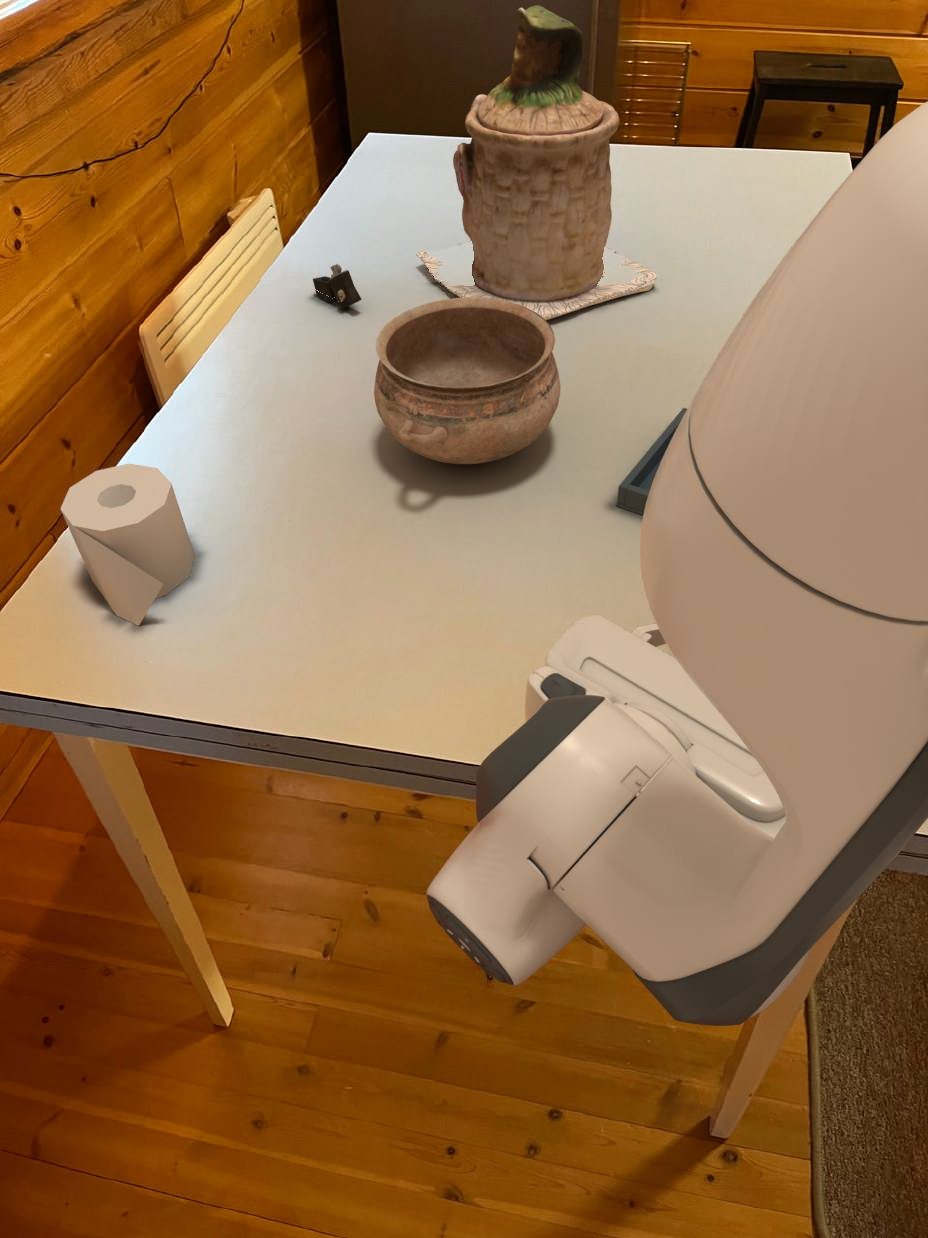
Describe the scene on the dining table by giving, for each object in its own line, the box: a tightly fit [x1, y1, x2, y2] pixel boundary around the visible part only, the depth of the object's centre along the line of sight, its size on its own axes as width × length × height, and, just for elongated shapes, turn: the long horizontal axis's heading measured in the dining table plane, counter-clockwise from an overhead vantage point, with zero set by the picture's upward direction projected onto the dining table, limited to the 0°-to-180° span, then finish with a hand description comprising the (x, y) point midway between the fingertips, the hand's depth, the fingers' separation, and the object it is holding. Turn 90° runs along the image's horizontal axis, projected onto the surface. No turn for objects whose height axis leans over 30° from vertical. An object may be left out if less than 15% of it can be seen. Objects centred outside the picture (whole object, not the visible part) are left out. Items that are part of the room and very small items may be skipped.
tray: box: [616, 407, 688, 516], centre depth 91 cm, size 16×16×2 cm
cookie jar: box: [416, 4, 658, 321], centre depth 114 cm, size 25×25×32 cm
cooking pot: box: [373, 297, 561, 465], centre depth 95 cm, size 25×19×12 cm
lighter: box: [312, 263, 363, 311], centre depth 121 cm, size 8×2×5 cm
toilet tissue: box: [60, 463, 196, 627], centre depth 83 cm, size 9×13×9 cm
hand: (737, 652), depth 68 cm, fingers open, 8 cm apart
